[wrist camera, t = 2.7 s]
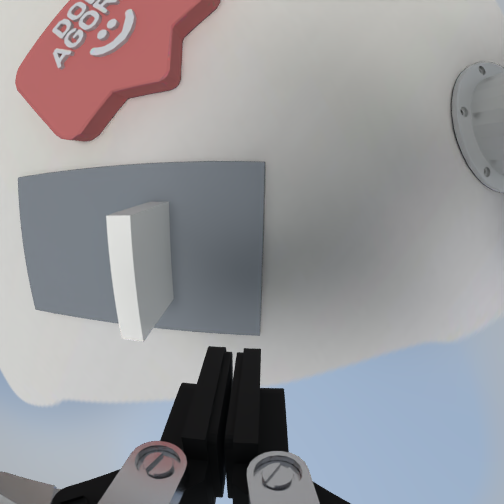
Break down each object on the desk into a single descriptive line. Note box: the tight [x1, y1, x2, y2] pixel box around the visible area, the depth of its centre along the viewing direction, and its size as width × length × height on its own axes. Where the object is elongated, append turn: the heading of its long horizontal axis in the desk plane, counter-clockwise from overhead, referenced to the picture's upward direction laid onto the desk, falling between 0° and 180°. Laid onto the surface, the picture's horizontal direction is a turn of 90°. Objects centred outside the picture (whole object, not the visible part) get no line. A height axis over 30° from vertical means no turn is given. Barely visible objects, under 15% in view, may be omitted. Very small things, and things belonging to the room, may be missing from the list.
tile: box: [106, 202, 174, 342], centre depth 20 cm, size 2×8×7 cm, turn 179°
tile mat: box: [18, 161, 265, 336], centre depth 24 cm, size 24×14×1 cm, turn 89°
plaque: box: [15, 0, 220, 141], centre depth 18 cm, size 18×4×15 cm
